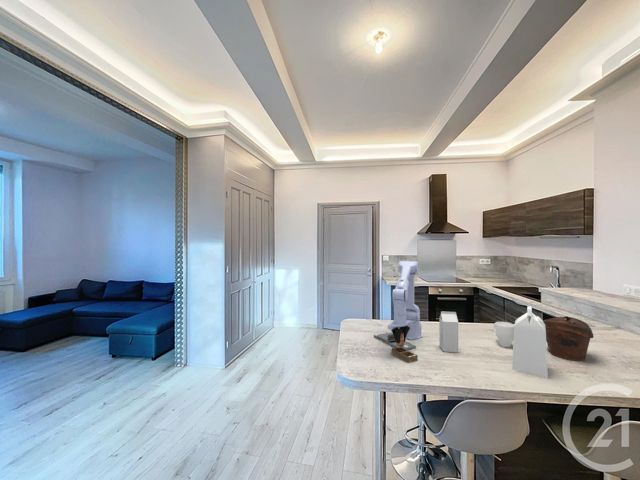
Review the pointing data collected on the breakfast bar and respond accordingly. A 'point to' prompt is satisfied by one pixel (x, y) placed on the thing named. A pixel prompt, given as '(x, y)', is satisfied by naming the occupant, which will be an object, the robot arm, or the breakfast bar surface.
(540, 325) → the milk
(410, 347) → the pattern board
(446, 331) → the milk carton
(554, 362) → the breakfast bar surface
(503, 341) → the mug
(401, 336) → the peg
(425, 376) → the breakfast bar surface
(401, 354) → the socket board
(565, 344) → the case
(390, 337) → the cover
